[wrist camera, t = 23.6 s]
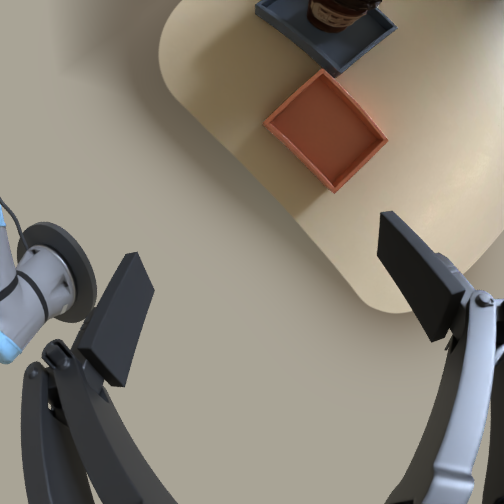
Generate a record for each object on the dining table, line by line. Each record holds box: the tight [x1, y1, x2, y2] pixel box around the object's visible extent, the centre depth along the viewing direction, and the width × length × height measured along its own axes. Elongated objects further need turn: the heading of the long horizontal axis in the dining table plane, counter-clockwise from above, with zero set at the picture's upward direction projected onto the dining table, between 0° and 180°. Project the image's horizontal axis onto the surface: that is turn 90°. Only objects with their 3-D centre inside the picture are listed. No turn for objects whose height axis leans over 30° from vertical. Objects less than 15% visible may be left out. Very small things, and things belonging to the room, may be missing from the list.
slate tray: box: [255, 0, 398, 78], centre depth 25 cm, size 15×14×3 cm
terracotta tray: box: [262, 68, 389, 194], centre depth 32 cm, size 13×11×3 cm
